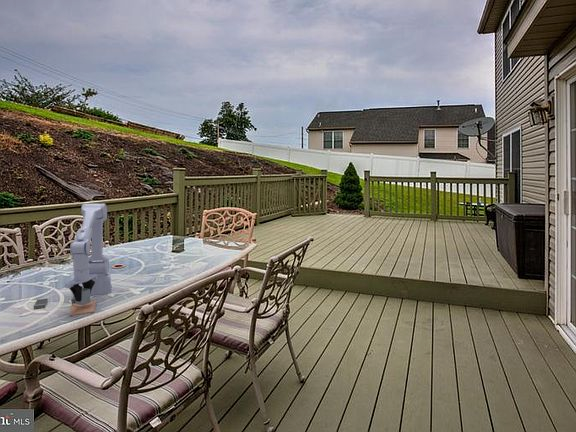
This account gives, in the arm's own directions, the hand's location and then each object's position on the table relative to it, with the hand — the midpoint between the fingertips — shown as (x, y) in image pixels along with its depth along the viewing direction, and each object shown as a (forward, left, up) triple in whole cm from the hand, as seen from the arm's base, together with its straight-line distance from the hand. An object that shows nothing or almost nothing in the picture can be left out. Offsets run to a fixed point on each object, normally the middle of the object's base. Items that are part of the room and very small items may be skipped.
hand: (82, 299), depth 154 cm
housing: (+10, -11, -4) cm, 15 cm away
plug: (+2, -1, -2) cm, 3 cm away
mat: (0, 0, -4) cm, 4 cm away
